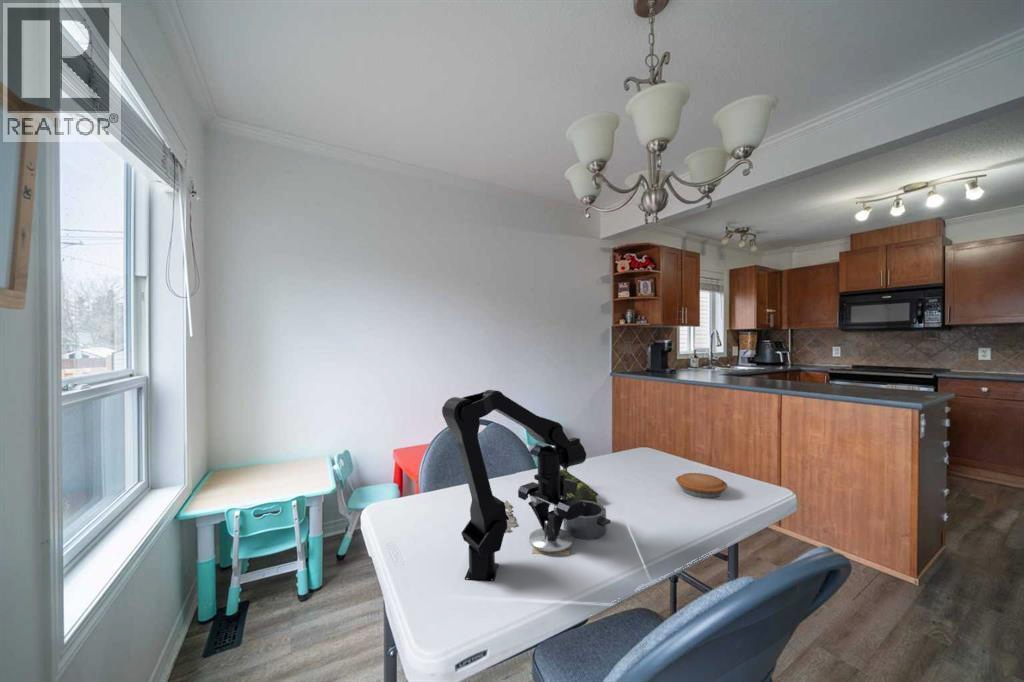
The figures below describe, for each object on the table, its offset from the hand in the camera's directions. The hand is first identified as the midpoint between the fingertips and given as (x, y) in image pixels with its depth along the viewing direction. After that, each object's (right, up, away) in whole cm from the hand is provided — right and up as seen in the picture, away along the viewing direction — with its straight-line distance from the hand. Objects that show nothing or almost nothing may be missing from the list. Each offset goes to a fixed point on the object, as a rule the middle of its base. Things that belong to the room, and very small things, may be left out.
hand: (550, 534), depth 91 cm
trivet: (0, -3, 0) cm, 3 cm away
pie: (+54, -3, +32) cm, 63 cm away
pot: (+10, -3, +7) cm, 13 cm away
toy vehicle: (+11, -5, +31) cm, 33 cm away
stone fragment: (-13, -5, +18) cm, 23 cm away
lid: (0, -3, 0) cm, 2 cm away
